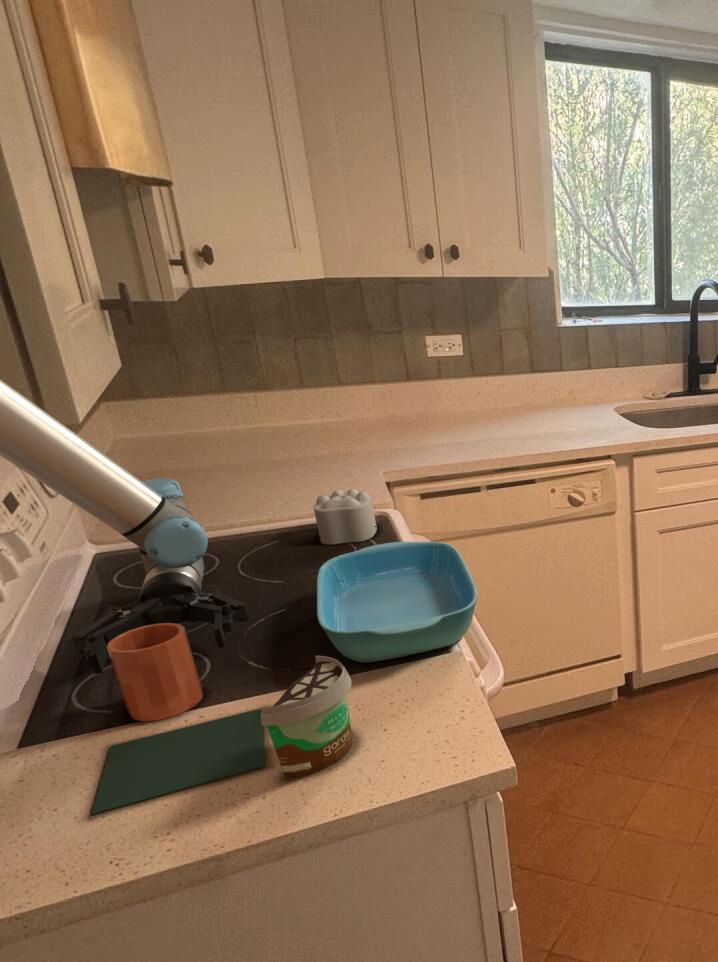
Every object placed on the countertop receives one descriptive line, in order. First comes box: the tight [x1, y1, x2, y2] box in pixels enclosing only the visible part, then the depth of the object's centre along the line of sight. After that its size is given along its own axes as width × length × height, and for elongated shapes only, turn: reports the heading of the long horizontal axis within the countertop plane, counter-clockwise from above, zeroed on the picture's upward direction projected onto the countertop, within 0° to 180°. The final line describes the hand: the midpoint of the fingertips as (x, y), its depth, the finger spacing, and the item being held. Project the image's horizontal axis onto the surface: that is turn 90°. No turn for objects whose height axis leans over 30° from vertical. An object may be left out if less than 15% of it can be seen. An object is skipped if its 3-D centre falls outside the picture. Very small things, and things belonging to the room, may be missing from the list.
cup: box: [107, 623, 204, 722], centre depth 102 cm, size 8×8×10 cm
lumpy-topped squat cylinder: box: [313, 487, 378, 545], centre depth 163 cm, size 10×13×9 cm
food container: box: [260, 655, 353, 778], centre depth 92 cm, size 12×6×10 cm, turn 179°
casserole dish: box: [316, 541, 479, 664], centre depth 126 cm, size 37×22×7 cm, turn 28°
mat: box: [91, 708, 266, 816], centre depth 93 cm, size 14×16×1 cm
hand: (159, 651), depth 105 cm, fingers open, 13 cm apart
